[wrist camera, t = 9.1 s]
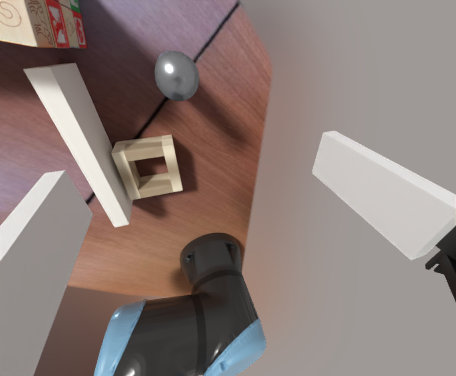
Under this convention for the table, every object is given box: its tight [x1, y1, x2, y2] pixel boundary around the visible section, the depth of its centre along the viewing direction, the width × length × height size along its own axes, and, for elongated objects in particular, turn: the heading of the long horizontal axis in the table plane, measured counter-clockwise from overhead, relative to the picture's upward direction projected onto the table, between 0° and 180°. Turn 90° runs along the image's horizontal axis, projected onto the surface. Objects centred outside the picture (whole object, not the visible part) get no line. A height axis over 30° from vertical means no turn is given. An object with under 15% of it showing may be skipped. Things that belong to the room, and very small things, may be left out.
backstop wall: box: [23, 63, 133, 227], centre depth 26 cm, size 20×2×7 cm, turn 3°
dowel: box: [155, 51, 199, 101], centre depth 20 cm, size 3×3×14 cm
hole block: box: [111, 135, 183, 200], centre depth 30 cm, size 8×8×4 cm
